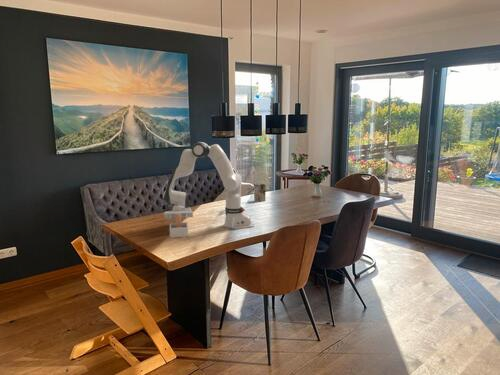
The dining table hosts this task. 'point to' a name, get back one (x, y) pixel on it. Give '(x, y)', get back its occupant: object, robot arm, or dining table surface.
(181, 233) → the open box
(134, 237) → the dining table surface
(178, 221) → the peg
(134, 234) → the dining table surface
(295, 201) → the dining table surface
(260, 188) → the coffee box
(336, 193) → the dining table surface
